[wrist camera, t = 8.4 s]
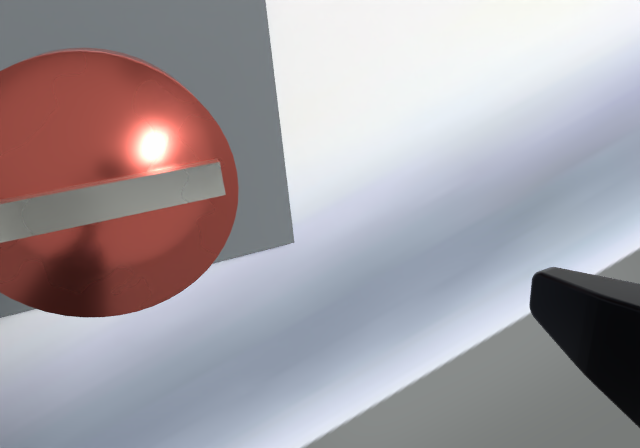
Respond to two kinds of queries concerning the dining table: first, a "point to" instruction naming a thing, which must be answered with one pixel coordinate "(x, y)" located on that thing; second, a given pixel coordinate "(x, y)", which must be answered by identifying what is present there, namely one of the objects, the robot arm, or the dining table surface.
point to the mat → (194, 74)
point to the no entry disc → (107, 184)
